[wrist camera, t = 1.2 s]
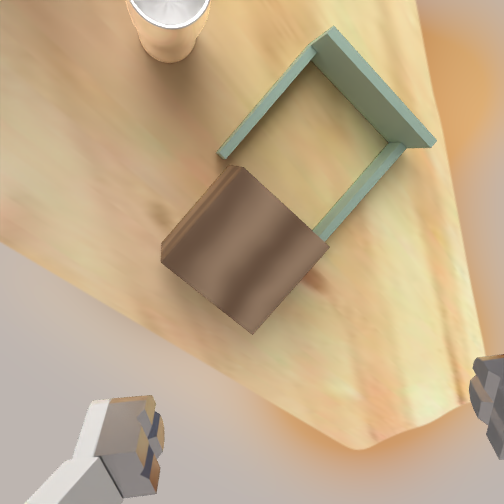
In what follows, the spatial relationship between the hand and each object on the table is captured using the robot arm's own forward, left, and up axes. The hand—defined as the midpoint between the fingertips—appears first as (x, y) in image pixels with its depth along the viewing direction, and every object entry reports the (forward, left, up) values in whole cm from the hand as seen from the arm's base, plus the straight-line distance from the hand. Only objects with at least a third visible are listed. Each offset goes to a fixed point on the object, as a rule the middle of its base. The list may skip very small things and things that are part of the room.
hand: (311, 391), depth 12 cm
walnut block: (+6, 0, -43) cm, 43 cm away
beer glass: (-14, +12, -43) cm, 47 cm away
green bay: (+6, +14, -43) cm, 45 cm away
